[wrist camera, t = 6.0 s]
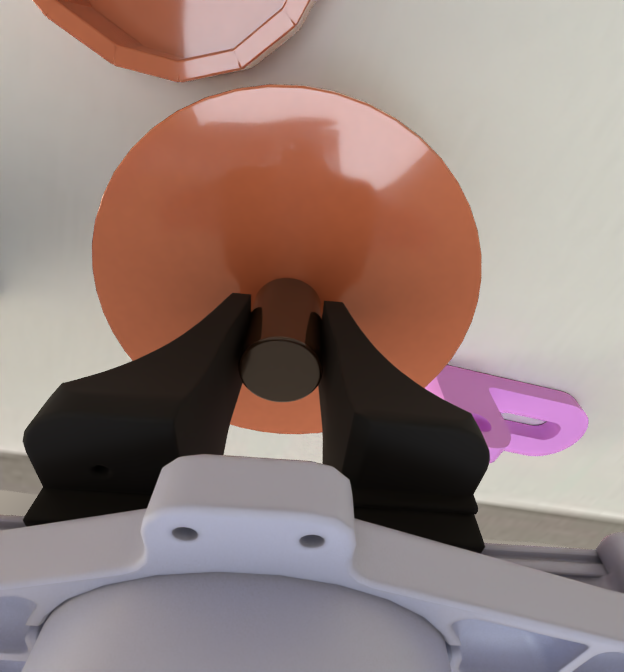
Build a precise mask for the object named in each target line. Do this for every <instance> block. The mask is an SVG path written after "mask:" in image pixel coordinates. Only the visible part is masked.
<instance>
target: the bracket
mask: <svg viewBox="0 0 624 672" xmlns="http://www.w3.org/2000/svg"><path fill="white" fill-rule="evenodd" d="M425 389H426V390H428V391H430V392H431V393H433V394H435V395H436V396H438V397H440V398H442V399H443V400H445V401H447V402H449V403H451V404H453V405H455V406H457V407H459V408H461V409H464V410H466V411H468V412H470V413H471V414H472V416H473V417H474V419H475V421H476V423H477V425H478V426H479V428H480V430H481V432H482V434H483V437H484V439H485V441H486V444H487V446H488V448H489V451H490V462H489V463H492V462H494V461H495V460H496V459H497V458H498V456H499V455H500V454H501V453H502V452H503V451H508V452H513V453H518V454H523V455H528V456H543V455H549V454H553V453H556V452H559V451H562V450H564V449H566V448H568V447H570V446H571V445H573V444H574V443H576V442H577V441H578V440H579V439H580V438H581V437H582V436H583V435H584V433H585V432H586V430H587V427H588V417H587V415H586V413H585V412H584V411H583V409H582V408H581V407H580V405H579V404H578V403H577V401H576V400H575V399H574V398H573V397H572V396H571V395H569V394H568V393H565V392H562V391H558V390H553V389H549V388H545V387H540V386H536V385H532V384H527V383H523V382H519V381H514V380H510V379H506V378H501V377H497V376H493V375H488V374H484V373H480V372H475V371H471V370H467V369H462V368H458V367H454V366H449V365H446V366H445V367H444V369H443V370H442V371H441V372H440V373H439V375H438V376H437V377H435V378H434V379H433V380H432V381H431V382H430V383H429V384H428V385H427V386H426V387H425ZM501 413H511V414H516V415H521V416H525V417H530V418H534V419H539V420H544V421H547V422H546V423H544V424H542V425H538V426H532V425H527V424H523V423H518V422H513V421H509V420H504V419H503V417H502V415H501Z"/></svg>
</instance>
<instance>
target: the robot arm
mask: <svg viewBox="0 0 624 672" xmlns="http://www.w3.org/2000/svg"><path fill="white" fill-rule="evenodd" d="M250 315H251V294H241V293H232V294H230V295H229V296H228V297H227V298H226V299H225V300H224V301H223V302H222V303H221V304H219V305H218V306H217V307H216V308H215V309H214V310H213V311H212V312H211V313H209V314H208V315H207V316H206V317H205V318H204V319H202V320H201V321H200V322H199V323H198V324H196V325H195V326H194V327H192V328H191V329H190V330H188V331H187V332H186V333H184V334H183V335H181V336H180V337H178V338H176V339H175V340H173V341H171V342H170V343H168V344H166V345H165V346H163V347H161V348H159V349H157V350H155V351H153V352H151V353H149V354H147V355H145V356H143V357H140V358H138V359H136V360H134V361H132V362H129V363H126V364H124V365H121V366H119V367H116V368H113V369H110V370H108V371H105V372H101V373H98V374H95V375H91V376H88V377H84V378H81V379H77V380H73V381H70V382H66V383H62V384H61V385H60V386H59V387H58V388H57V390H56V391H55V392H54V393H53V394H52V395H51V396H50V398H49V399H48V400H47V402H46V403H45V404H44V406H43V407H42V408H41V410H40V411H39V412H38V414H37V415H36V416H35V417H34V419H33V420H32V421H31V423H30V424H29V425H28V427H27V428H26V429H25V431H24V437H23V443H24V447H25V450H26V453H27V455H28V457H29V459H30V461H31V463H32V465H33V467H34V469H35V471H36V473H37V475H38V477H39V479H40V481H41V483H42V485H43V488H42V490H41V491H40V493H39V495H38V496H37V498H36V499H35V501H34V503H33V504H32V506H31V507H30V509H29V510H28V512H27V514H26V515H25V516H13V515H0V672H624V532H616V533H613V534H610V535H608V536H607V537H605V538H604V539H603V540H602V541H601V542H600V544H599V545H598V547H597V548H596V550H593V549H576V548H558V547H541V546H525V545H508V544H491V543H484V542H483V539H482V536H481V533H480V530H479V527H478V524H477V521H476V518H475V515H474V514H476V513H477V512H478V506H477V503H476V501H475V498H474V495H473V494H474V492H475V490H476V489H477V487H478V485H479V483H480V481H481V479H482V478H483V476H484V474H485V472H486V470H487V468H488V465H489V462H490V451H489V448H488V446H487V444H486V441H485V439H484V437H483V434H482V432H481V430H480V428H479V426H478V425H477V423H476V421H475V419H474V417H473V416H472V414H471V413H470V412H468V411H466V410H464V409H461V408H459V407H457V406H455V405H453V404H451V403H449V402H447V401H445V400H443V399H442V398H440V397H438V396H436V395H435V394H433V393H431V392H430V391H428V390H426V389H425V388H423V387H422V386H420V385H419V384H417V383H416V382H414V381H413V380H412V379H410V378H409V377H408V376H406V375H405V374H404V373H402V372H401V371H400V370H399V369H397V368H396V367H395V366H394V365H393V364H392V363H391V362H390V361H388V360H387V359H386V358H385V357H384V356H383V355H382V354H381V353H380V352H379V351H378V350H377V349H376V348H375V346H374V345H373V344H372V343H371V342H370V341H369V339H368V338H367V337H366V335H365V334H364V333H363V332H362V330H361V329H360V328H359V326H358V325H357V323H356V322H355V320H354V319H353V317H352V316H351V314H350V313H349V311H348V309H347V308H346V306H345V305H344V303H343V302H335V301H324V306H323V313H322V352H323V374H322V378H321V381H320V383H319V385H318V389H319V399H320V410H321V420H322V432H323V464H320V463H316V462H312V461H301V460H286V459H271V458H256V457H241V456H226V455H223V454H224V449H225V444H226V439H227V433H228V429H229V426H230V422H231V418H232V415H233V412H234V409H235V406H236V402H237V399H238V396H239V393H240V390H241V386H242V383H243V382H242V380H241V378H240V375H239V372H238V362H239V358H240V354H241V351H242V347H243V343H244V339H245V335H246V331H247V327H248V323H249V319H250Z"/></svg>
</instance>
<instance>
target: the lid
mask: <svg viewBox="0 0 624 672" xmlns="http://www.w3.org/2000/svg"><path fill="white" fill-rule="evenodd" d="M92 267H93V274H94V280H95V285H96V291H97V294H98V297H99V300H100V303H101V307H102V310H103V313H104V315H105V317H106V319H107V321H108V323H109V325H110V327H111V329H112V332H113V333H114V335H115V336H116V338H117V340H118V341H119V343H120V344H121V346H122V347H123V349H124V351H125V352H126V353H127V354H128V355H129V357H130V358H131V359H132V360H133V361H134V360H136V359H138V358H140V357H143V356H145V355H147V354H149V353H151V352H153V351H155V350H157V349H159V348H161V347H163V346H165V345H166V344H168V343H170V342H171V341H173V340H175V339H176V338H178V337H180V336H181V335H183V334H184V333H186V332H187V331H188V330H190V329H191V328H192V327H194V326H195V325H196V324H198V323H199V322H200V321H201V320H202V319H204V318H205V317H206V316H207V315H208V314H209V313H211V312H212V311H213V310H214V309H215V308H216V307H217V306H218V305H219V304H221V303H222V302H223V301H224V300H225V299H226V298H227V297H228V296H229V295H230V294H232V293H241V294H251V315H250V319H249V323H248V327H247V331H246V335H245V339H244V343H243V347H242V351H241V354H240V358H239V362H238V372H239V375H240V378H241V380H242V382H243V383H242V386H241V390H240V393H239V396H238V399H237V402H236V406H235V409H234V412H233V415H232V418H231V422H230V424H231V425H234V426H238V427H241V428H246V429H251V430H256V431H261V432H270V433H279V434H308V433H320V432H322V420H321V410H320V399H319V389H318V385H319V383H320V381H321V378H322V374H323V352H322V313H323V306H324V301H335V302H343V303H344V305H345V306H346V308H347V309H348V311H349V313H350V314H351V316H352V317H353V319H354V320H355V322H356V323H357V325H358V326H359V328H360V329H361V330H362V332H363V333H364V334H365V335H366V337H367V338H368V339H369V341H370V342H371V343H372V344H373V345H374V346H375V348H376V349H377V350H378V351H379V352H380V353H381V354H382V355H383V356H384V357H385V358H386V359H387V360H388V361H390V362H391V363H392V364H393V365H394V366H395V367H396V368H397V369H399V370H400V371H401V372H402V373H404V374H405V375H406V376H408V377H409V378H410V379H412V380H413V381H414V382H416V383H417V384H419V385H420V386H422V387H423V388H425V387H426V386H427V385H428V384H429V383H430V382H431V381H432V380H433V379H434V378H435V377H437V376H438V375H439V373H440V372H441V371H442V370H443V369H444V367H445V366H446V365H447V364H448V362H449V361H450V360H451V359H452V357H453V356H454V354H455V353H456V351H457V349H458V348H459V346H460V345H461V343H462V341H463V339H464V337H465V335H466V333H467V331H468V329H469V326H470V324H471V322H472V319H473V315H474V312H475V309H476V306H477V302H478V297H479V290H480V284H481V249H480V242H479V236H478V230H477V227H476V223H475V220H474V217H473V214H472V211H471V208H470V205H469V203H468V201H467V199H466V197H465V195H464V193H463V191H462V189H461V187H460V185H459V183H458V181H457V180H456V178H455V177H454V175H453V174H452V173H451V171H450V170H449V168H448V167H447V166H446V164H445V163H444V161H443V160H442V159H441V157H440V156H439V155H438V154H437V153H436V152H435V151H434V150H433V149H432V148H431V147H430V146H429V145H428V144H427V143H426V142H425V141H424V140H423V139H422V138H421V137H420V136H419V135H417V134H416V133H415V132H413V131H412V130H411V129H409V128H408V127H407V126H405V125H404V124H403V123H401V122H400V121H399V120H397V119H396V118H395V117H393V116H391V115H390V114H388V113H386V112H384V111H382V110H380V109H378V108H376V107H375V106H373V105H371V104H369V103H367V102H365V101H362V100H359V99H357V98H354V97H351V96H348V95H345V94H342V93H339V92H337V91H333V90H327V89H322V88H316V87H311V86H306V85H288V84H266V85H258V86H250V87H242V88H236V89H233V90H229V91H226V92H223V93H219V94H216V95H212V96H209V97H206V98H203V99H201V100H199V101H197V102H195V103H193V104H191V105H189V106H187V107H184V108H182V109H180V110H178V111H176V112H175V113H173V114H172V115H170V116H169V117H167V118H166V119H165V120H163V121H162V122H160V123H159V124H157V125H156V126H155V127H153V128H152V129H151V130H150V131H149V132H147V133H146V134H145V135H144V136H143V137H142V138H141V139H140V140H139V141H138V142H137V143H136V144H135V145H134V146H133V147H132V148H131V149H130V151H129V152H128V153H127V155H126V156H125V157H124V159H123V160H122V162H121V163H120V164H119V166H118V167H117V168H116V170H115V171H114V173H113V175H112V177H111V179H110V181H109V183H108V185H107V187H106V189H105V191H104V193H103V196H102V199H101V202H100V205H99V209H98V212H97V215H96V219H95V225H94V233H93V240H92Z"/></svg>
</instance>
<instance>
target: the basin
mask: <svg viewBox="0 0 624 672" xmlns="http://www.w3.org/2000/svg"><path fill="white" fill-rule="evenodd" d="M33 1H34V3H35V4H36V5H37V6H38V8H39V9H40V10H41V11H42V13H43V14H44V15H45V16H47V18H48V19H50V20H51V21H52V22H54V23H55V24H56V25H58V26H59V27H61V28H62V29H63V30H65V31H66V32H68V33H69V34H70V35H72V36H73V37H75V38H76V39H77V40H79V41H80V42H82V43H83V44H84V45H86V46H87V47H89V48H90V49H91V50H93V51H94V52H96V53H97V54H98V55H100V56H101V57H103V58H104V59H105V60H107V61H108V62H110V63H111V64H113V65H115V66H117V67H121V68H125V69H129V70H133V71H136V72H140V73H144V74H148V75H152V76H156V77H159V78H163V79H167V80H171V81H175V82H187V81H192V80H198V79H203V78H207V77H212V76H217V75H222V74H227V73H232V72H237V71H241V70H246V69H250V68H252V67H254V66H256V65H257V64H258V63H259V62H261V61H262V60H263V59H264V58H266V57H267V56H268V55H269V54H271V53H272V52H274V51H275V50H276V49H278V48H279V47H280V46H281V45H282V44H283V43H284V42H286V41H287V40H288V39H289V38H291V37H292V36H293V35H294V34H296V33H297V32H298V30H300V28H301V27H302V25H303V23H304V21H305V19H306V17H307V16H308V14H309V12H310V10H311V8H312V7H313V5H314V4H315V2H316V0H33Z"/></svg>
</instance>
